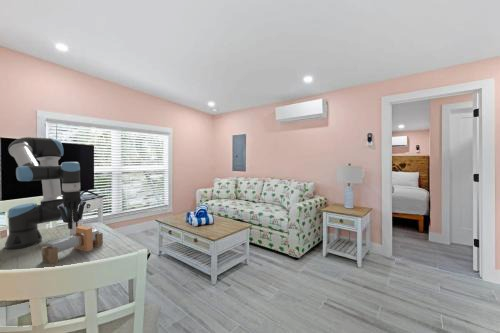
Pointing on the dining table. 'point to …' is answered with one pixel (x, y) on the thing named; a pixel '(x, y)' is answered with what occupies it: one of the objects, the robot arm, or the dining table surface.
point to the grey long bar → (70, 241)
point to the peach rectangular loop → (85, 238)
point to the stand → (52, 253)
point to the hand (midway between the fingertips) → (73, 233)
